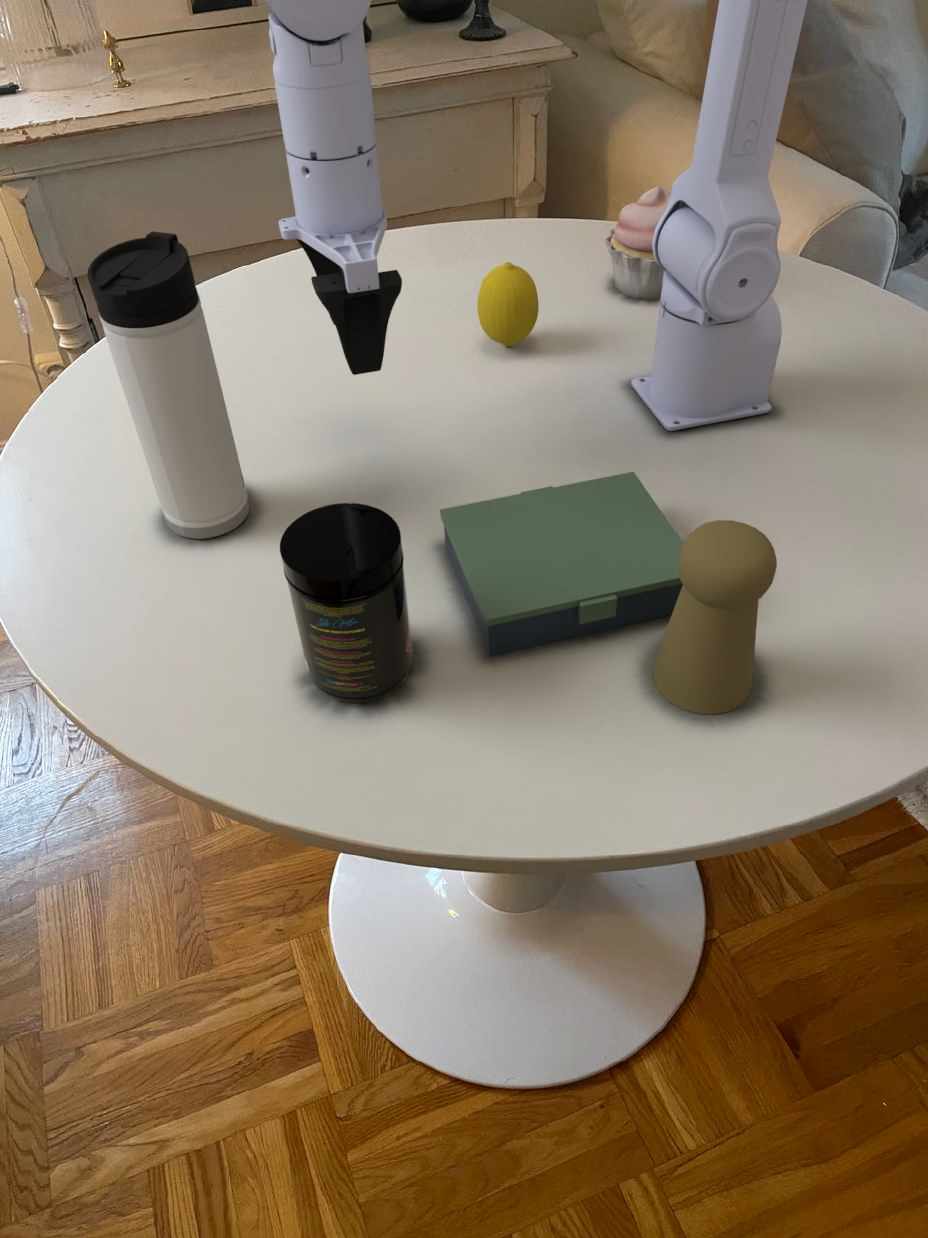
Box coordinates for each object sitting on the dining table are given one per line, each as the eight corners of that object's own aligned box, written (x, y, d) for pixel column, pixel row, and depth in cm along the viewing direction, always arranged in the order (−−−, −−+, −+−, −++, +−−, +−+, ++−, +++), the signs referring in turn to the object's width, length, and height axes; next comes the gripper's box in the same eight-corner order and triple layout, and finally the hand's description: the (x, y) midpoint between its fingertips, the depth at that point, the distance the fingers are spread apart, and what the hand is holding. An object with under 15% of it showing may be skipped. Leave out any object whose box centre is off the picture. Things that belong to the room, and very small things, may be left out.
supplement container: (424, 695, 57) (412, 567, 50) (315, 718, 56) (286, 591, 49) (403, 620, 62) (388, 493, 54) (301, 640, 61) (273, 514, 53)
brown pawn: (642, 645, 59) (662, 508, 52) (735, 637, 59) (769, 499, 52) (664, 718, 55) (690, 581, 47) (765, 710, 55) (807, 571, 47)
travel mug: (267, 494, 72) (209, 235, 58) (224, 547, 68) (150, 281, 53) (196, 480, 73) (123, 225, 59) (150, 531, 69) (60, 269, 55)
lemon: (532, 363, 85) (534, 278, 79) (473, 358, 86) (470, 274, 80) (541, 334, 89) (543, 251, 83) (484, 330, 89) (482, 247, 84)
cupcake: (598, 307, 92) (606, 203, 85) (601, 266, 99) (609, 167, 92) (695, 310, 91) (710, 205, 84) (691, 268, 98) (706, 168, 90)
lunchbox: (627, 506, 69) (631, 467, 67) (699, 615, 61) (707, 576, 59) (440, 544, 67) (438, 505, 65) (488, 663, 59) (488, 624, 56)
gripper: (254, 117, 62) (287, 308, 72) (282, 194, 52) (317, 405, 62) (357, 105, 64) (376, 295, 73) (404, 178, 54) (419, 387, 63)
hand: (355, 344), depth 68 cm, fingers open, 7 cm apart
